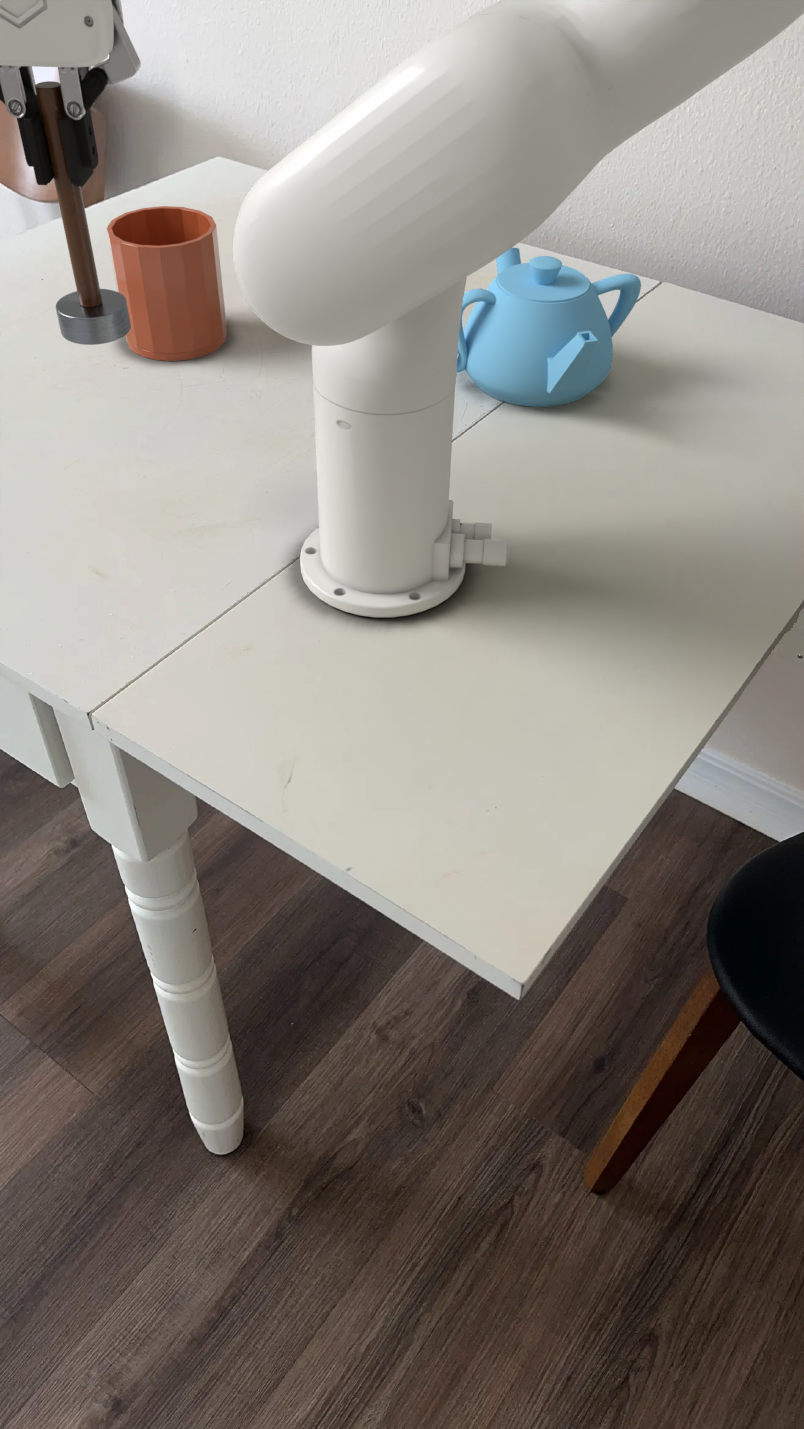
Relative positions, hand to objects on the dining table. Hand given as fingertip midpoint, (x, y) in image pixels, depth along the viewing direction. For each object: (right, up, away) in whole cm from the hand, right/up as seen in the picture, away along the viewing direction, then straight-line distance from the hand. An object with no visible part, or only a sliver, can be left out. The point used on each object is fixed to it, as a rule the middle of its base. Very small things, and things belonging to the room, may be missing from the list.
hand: (66, 176), depth 71 cm
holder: (0, +2, +38) cm, 38 cm away
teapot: (+35, -3, +33) cm, 49 cm away
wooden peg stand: (0, -7, +7) cm, 11 cm away
